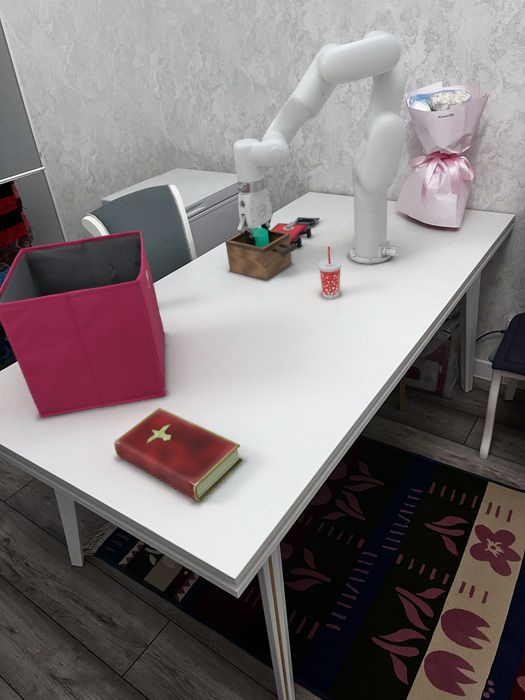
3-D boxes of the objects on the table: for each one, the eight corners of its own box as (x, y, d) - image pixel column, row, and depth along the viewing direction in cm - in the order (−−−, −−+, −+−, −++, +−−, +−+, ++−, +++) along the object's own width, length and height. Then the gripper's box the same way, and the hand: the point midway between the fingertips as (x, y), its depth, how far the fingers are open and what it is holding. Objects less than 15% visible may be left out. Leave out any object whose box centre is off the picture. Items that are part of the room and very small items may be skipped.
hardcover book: (197, 503, 94) (193, 486, 92) (117, 458, 106) (112, 441, 103) (242, 460, 102) (239, 443, 99) (163, 422, 113) (158, 406, 111)
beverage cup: (321, 289, 155) (318, 242, 148) (343, 289, 154) (341, 241, 146) (318, 299, 150) (315, 251, 143) (341, 299, 149) (339, 251, 141)
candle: (251, 260, 174) (246, 224, 166) (270, 257, 174) (265, 221, 167) (253, 269, 169) (247, 233, 162) (272, 266, 169) (268, 229, 162)
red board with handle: (325, 220, 198) (287, 219, 205) (324, 213, 197) (286, 211, 203) (292, 255, 177) (250, 252, 183) (291, 247, 175) (249, 244, 182)
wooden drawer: (305, 266, 168) (303, 236, 163) (280, 283, 160) (277, 252, 155) (255, 255, 179) (251, 226, 174) (229, 270, 172) (225, 240, 166)
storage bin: (171, 397, 120) (142, 278, 105) (37, 422, 118) (-13, 304, 103) (168, 332, 144) (144, 228, 128) (56, 352, 141) (18, 248, 126)
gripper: (242, 196, 150) (250, 258, 160) (280, 177, 161) (285, 236, 171) (221, 193, 154) (230, 253, 164) (260, 175, 165) (266, 233, 175)
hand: (258, 244), depth 167 cm, fingers open, 6 cm apart
